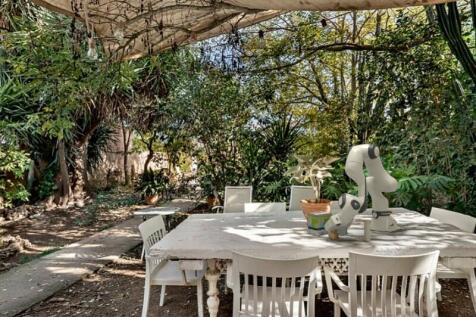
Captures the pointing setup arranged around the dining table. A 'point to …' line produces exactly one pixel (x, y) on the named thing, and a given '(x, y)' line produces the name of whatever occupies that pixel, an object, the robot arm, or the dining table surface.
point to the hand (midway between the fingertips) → (332, 231)
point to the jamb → (367, 230)
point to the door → (342, 231)
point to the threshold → (355, 236)
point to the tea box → (318, 222)
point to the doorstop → (334, 234)
